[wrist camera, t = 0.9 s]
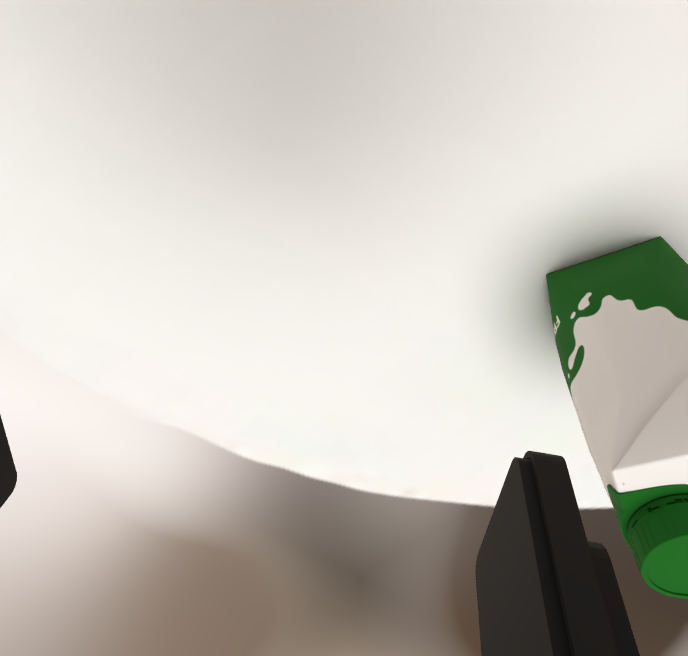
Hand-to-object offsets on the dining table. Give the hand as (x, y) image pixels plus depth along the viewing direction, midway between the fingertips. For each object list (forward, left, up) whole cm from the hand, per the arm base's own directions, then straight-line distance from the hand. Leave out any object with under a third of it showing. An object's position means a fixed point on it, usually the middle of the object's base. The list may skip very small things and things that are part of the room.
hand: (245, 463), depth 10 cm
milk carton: (+3, +20, -29) cm, 35 cm away
